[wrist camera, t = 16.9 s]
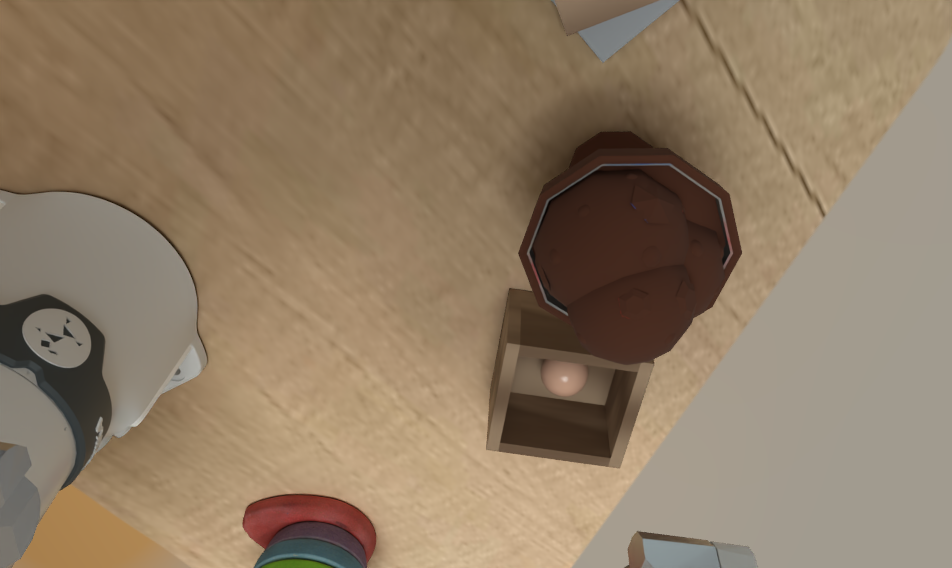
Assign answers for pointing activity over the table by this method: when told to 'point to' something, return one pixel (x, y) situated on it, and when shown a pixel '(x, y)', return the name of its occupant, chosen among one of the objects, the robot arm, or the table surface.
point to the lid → (594, 12)
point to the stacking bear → (309, 533)
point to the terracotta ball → (563, 377)
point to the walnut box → (550, 416)
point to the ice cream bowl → (629, 247)
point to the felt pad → (622, 28)
